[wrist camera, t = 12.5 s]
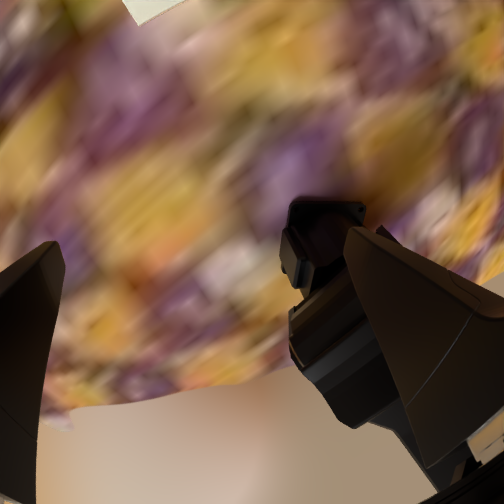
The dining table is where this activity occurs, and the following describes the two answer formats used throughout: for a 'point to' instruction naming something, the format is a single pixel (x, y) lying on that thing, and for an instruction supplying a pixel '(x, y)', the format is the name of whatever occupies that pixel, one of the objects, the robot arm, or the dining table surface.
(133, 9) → the white tile
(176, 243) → the dining table surface
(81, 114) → the dining table surface
